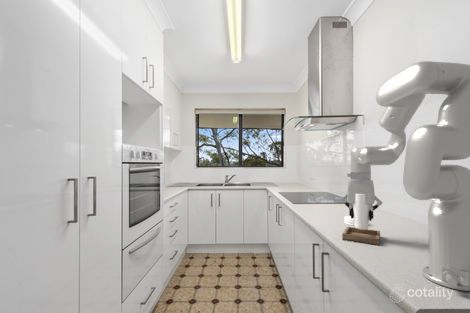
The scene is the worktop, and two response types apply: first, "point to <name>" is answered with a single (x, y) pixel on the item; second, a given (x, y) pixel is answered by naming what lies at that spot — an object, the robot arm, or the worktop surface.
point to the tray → (361, 236)
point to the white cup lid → (349, 220)
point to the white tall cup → (361, 212)
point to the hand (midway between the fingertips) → (361, 218)
